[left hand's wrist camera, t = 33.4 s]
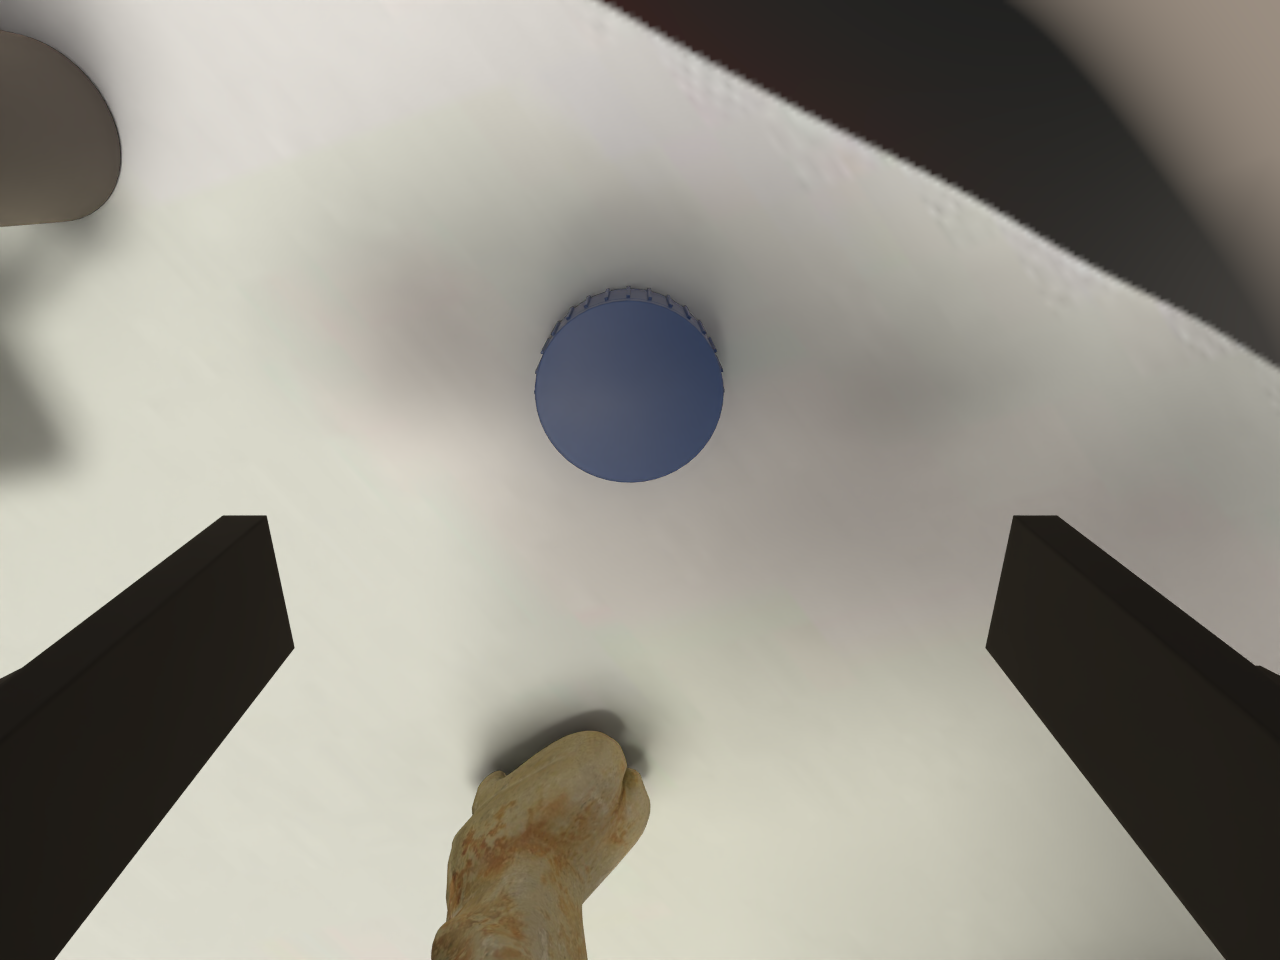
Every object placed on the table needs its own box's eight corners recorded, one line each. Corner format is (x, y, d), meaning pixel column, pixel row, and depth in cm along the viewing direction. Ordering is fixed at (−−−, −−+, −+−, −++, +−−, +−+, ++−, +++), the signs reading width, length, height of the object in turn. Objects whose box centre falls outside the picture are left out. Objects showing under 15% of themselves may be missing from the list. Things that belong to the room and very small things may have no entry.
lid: (729, 296, 22) (740, 309, 20) (703, 465, 24) (711, 492, 22) (546, 276, 22) (537, 287, 19) (537, 449, 24) (528, 476, 22)
